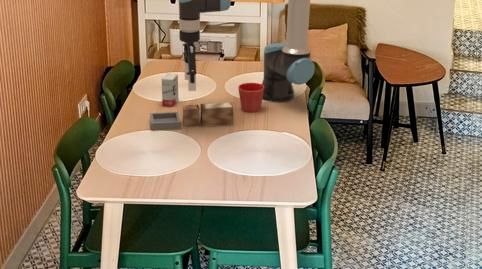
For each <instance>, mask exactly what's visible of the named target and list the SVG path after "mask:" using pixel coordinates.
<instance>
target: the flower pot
mask: <svg viewBox="0 0 482 269" xmlns="http://www.w3.org/2000/svg"><path fill="white" fill-rule="evenodd" d="M237 90H238V95H239V101H240V106H241V110H242V111H244V112H245V113H255V112H256V113H257V112H258V111H260V110H261V108H262V104H263V103H262V102H263V100H264V99H263V93H264V86H263V85H262V83H258V82H245V83H241V84H239V85H238V88H237Z"/></svg>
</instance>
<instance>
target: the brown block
mask: <svg viewBox="0 0 482 269" xmlns="http://www.w3.org/2000/svg"><path fill="white" fill-rule="evenodd" d="M182 123H183V127H185V128H186V127H188V128H189V127H200V126H201V113H200V107H199V104H183V105H182Z"/></svg>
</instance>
